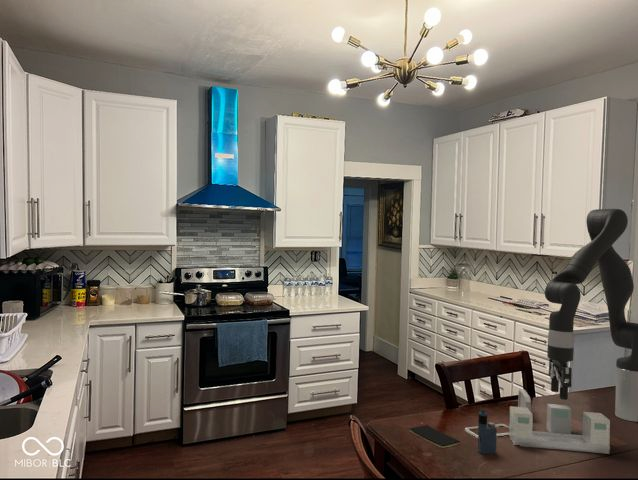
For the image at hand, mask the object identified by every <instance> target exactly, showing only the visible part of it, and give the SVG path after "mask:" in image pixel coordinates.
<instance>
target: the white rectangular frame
mask: <svg viewBox="0 0 638 480" xmlns="http://www.w3.org/2000/svg"><path fill="white" fill-rule="evenodd" d="M499 426H505V427H506V428H509V427H510V425H507V424H505V423H498V424H496V423H495V427H496V428H500V427H499ZM505 427H504V428H505ZM470 429H473V430H474V429H478V425H477V426H471V427H465V428H464V432H466V433H468V434H469V435H470V436H472V435H473V437H474V436H475V437H474V438H476V439H477V438H478V434H476V433H475V432H473V431H472V430H470ZM504 435H509V432H503V433H502V432H501V433H497V436H504ZM504 437H505V436H504Z"/></svg>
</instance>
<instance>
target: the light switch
mask: <svg viewBox="0 0 638 480" xmlns="http://www.w3.org/2000/svg"><path fill="white" fill-rule="evenodd" d="M517 397H518V398H517V400H518V402H517V407H526V408H528V409H529V410H530V412H531V411H532V401H531V397H530V395H529V394H528V392H527V391H526V389H524V388H519V389H518V396H517ZM531 413H532V412H531Z"/></svg>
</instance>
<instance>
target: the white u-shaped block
mask: <svg viewBox="0 0 638 480" xmlns="http://www.w3.org/2000/svg"><path fill="white" fill-rule="evenodd" d="M533 416H534V414H533V413H532V412H530V410H529V409H528V408H526V407H518V406H512V405H511V406H509V429H508V433H509V436H508V438H509V437H510V438H509V439H510V441H511V440H512V441H511V442H513V443H512V445H513V446H514V445H520V446H519V447H526V448H539V449H550V450H551V449H552V450H562V451H572V452H573V451H574V452H587V453H594V454H595V453H596V454H597V453H598V454H606V455H607V454H608V455H609V454H610V451H611V445H610V439H611V438H610V437H611V435H610V433H611V432H610V430H611V428H610V427H611V424H610V423H611V420H610V419H609V418H608V417H607V416H605V415H604V414H602V413H601V412H589V411H582V426H583V435H582V434H572V433H571V434H560V433H550V432H549V431H548V432H546V431H536V430H535V431H533V418H534V417H533Z"/></svg>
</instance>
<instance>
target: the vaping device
mask: <svg viewBox="0 0 638 480" xmlns="http://www.w3.org/2000/svg"><path fill="white" fill-rule="evenodd" d="M477 424H478V425H477V426H478V428H477V435H478V439H477V451H479V452H478V453H480V454H486V455H487V454H490V455H491V454H492V455H495V454H496V451H497V437H496V436H497V434H498V433H497V427H495V425H496V423H495V422H492V421H488V412H486V410H485V409H484V408H481V409H480V411H478V422H477Z"/></svg>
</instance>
